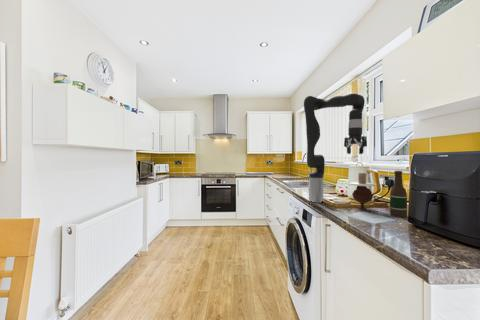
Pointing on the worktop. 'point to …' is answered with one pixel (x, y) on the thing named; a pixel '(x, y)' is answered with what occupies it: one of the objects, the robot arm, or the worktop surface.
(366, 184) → the lid
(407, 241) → the worktop surface
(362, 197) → the ice cream bowl
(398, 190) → the beer bottle
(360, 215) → the mat
